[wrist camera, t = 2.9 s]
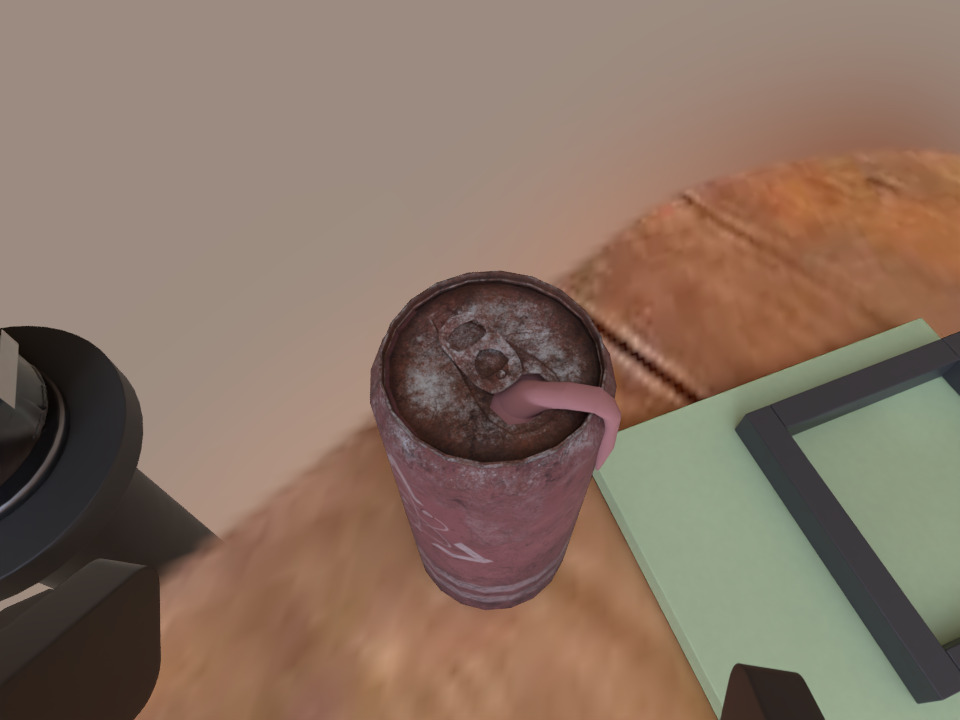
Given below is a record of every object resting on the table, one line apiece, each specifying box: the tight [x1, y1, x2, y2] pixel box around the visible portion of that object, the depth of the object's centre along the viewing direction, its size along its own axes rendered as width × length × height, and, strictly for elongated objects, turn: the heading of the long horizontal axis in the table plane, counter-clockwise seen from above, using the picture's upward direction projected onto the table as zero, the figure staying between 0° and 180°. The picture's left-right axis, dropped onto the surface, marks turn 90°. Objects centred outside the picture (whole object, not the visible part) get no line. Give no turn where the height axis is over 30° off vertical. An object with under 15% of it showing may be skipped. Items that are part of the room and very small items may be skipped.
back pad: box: [592, 318, 960, 720], centre depth 26 cm, size 18×15×3 cm
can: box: [370, 271, 621, 610], centre depth 21 cm, size 6×6×14 cm
